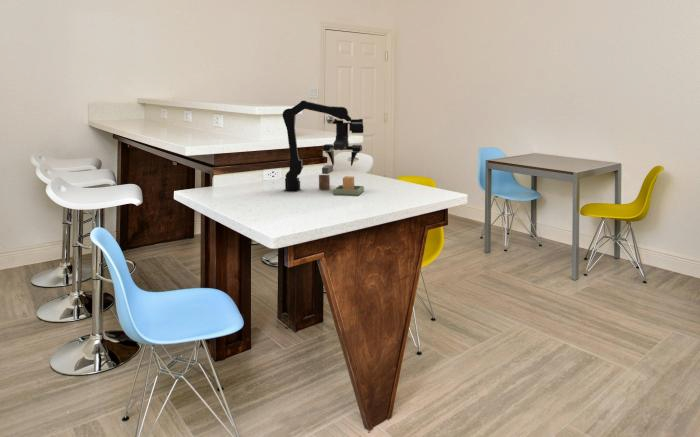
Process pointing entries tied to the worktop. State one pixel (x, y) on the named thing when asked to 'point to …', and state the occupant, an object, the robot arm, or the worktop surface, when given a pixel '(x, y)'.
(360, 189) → the tray
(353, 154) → the robot arm
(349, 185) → the orange brown block
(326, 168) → the dark gray block
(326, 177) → the wood grain block
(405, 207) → the worktop surface
